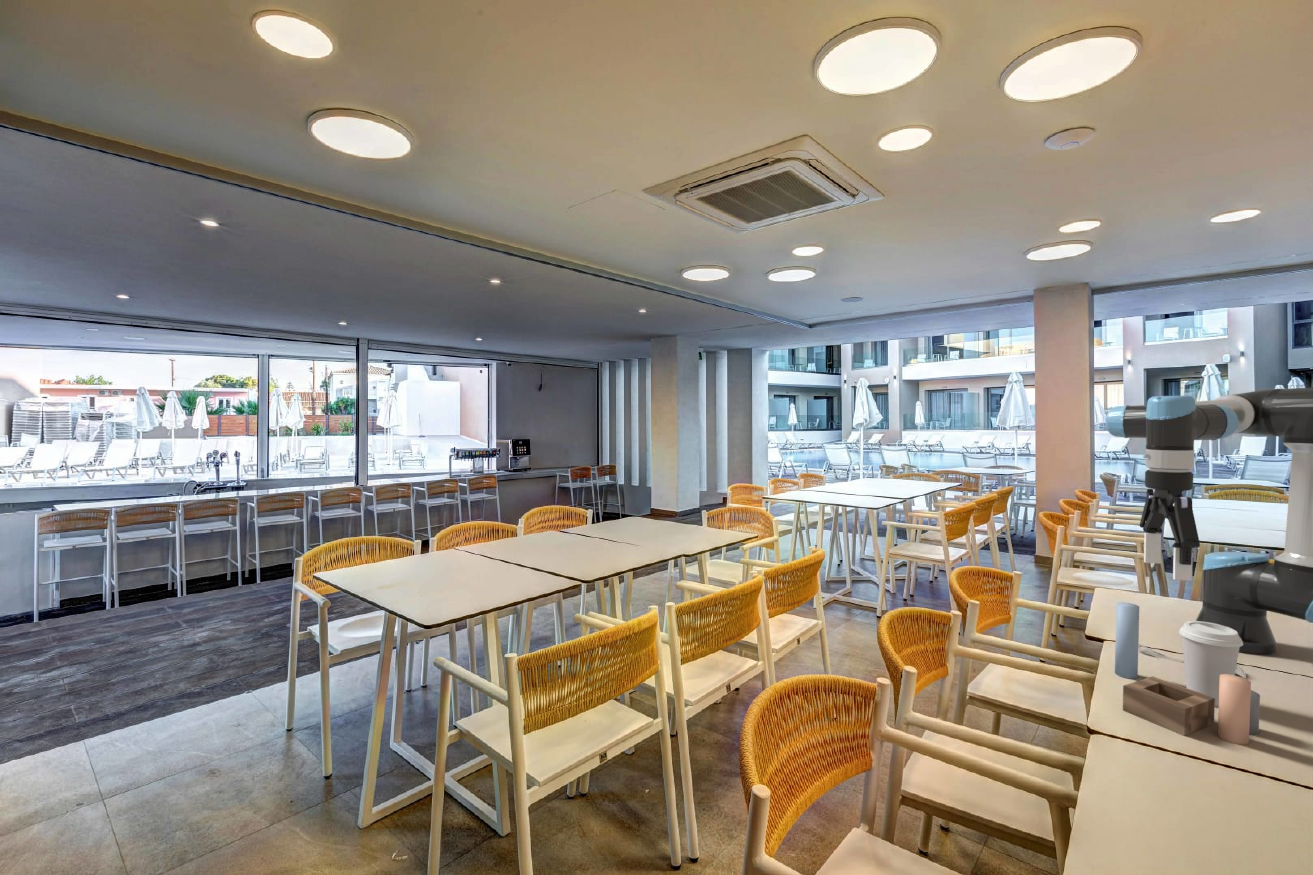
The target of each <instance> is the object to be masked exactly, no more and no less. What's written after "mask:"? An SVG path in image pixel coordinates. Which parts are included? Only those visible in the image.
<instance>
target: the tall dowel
mask: <svg viewBox="0 0 1313 875" xmlns="http://www.w3.org/2000/svg"><path fill="white" fill-rule="evenodd" d="M1115 604H1116V610H1115V643H1114V644H1115V650H1114V651H1115V652H1114V653H1115V654H1114V655H1115V656H1114V674H1115V675H1117V676H1118V677H1121V678H1125V679H1128V680H1136V679H1138V677H1139V676H1138V675H1139V670H1138V669H1139V649H1138V644H1139V634H1140V632H1139V631H1140V605H1137V604H1135V603H1132V602H1131V603H1130V602H1123V601H1122V602H1121V601H1119V602H1116V603H1115Z"/></svg>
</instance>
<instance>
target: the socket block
mask: <svg viewBox="0 0 1313 875" xmlns="http://www.w3.org/2000/svg"><path fill="white" fill-rule="evenodd" d="M1122 687H1123V689H1122V711H1124V712H1126V713H1128V714H1131V715H1133V716H1136V717H1138V718H1140V719H1143V720H1145V721H1148V722H1149V723H1150V722H1151V723H1153V724H1155V725H1156V726H1157V725H1158V726H1160V727H1163V728H1164V729H1167V730H1170V731H1171V732H1174V733H1176V734H1179V735H1181V736H1184V737H1185V736H1187V735H1190V734H1192V732H1193V733H1195V732H1198V731H1200V730H1202V729H1205V728H1207V727H1210V726H1212V725H1214V724H1215V708H1216V707H1215V698H1213V697H1210V696H1207V695H1204V694H1202V693H1199V692H1196V691H1193V690H1190V689H1187V688H1186V687H1183V686H1181V685H1178V684H1176V683H1173V682H1170V681H1167V680H1165V679H1161V678H1158V677H1156V676H1154V675H1153V676H1150V677H1146V678H1143V679H1141V680H1137V681H1134V682H1130V683H1127V684H1124V685H1123V686H1122Z"/></svg>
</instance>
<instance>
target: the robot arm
mask: <svg viewBox="0 0 1313 875" xmlns="http://www.w3.org/2000/svg"><path fill="white" fill-rule="evenodd" d="M1105 428H1106V431H1107V432H1108V434H1110V435H1111V436H1113V437H1115V438H1117V437H1118V438H1125V439H1129V438H1130V439H1131V438H1132V439H1133V438H1134V439H1135V438H1137V439H1145V443H1146V444H1145V453H1143V454H1142V458H1144V459H1145V467H1146V468H1147V470H1145V472H1144V486H1145V487H1146V488H1147V489H1146V497H1145V503H1144V506H1143V511H1142V514H1141V518H1140V521H1139V527H1140V528H1141V529H1142V530H1143V532H1144V541H1143V543H1144V544H1143V548H1144V549H1143V562H1144V563H1145V564H1158V565H1159V564H1162V563H1161V561H1162V560H1161V559H1162V534H1163V533H1164V532H1163V528H1162V526H1163V525H1164V522H1165V520H1166V519H1167V521H1168V523H1169V526H1170V529H1171V534H1172V535H1173V538H1174V543H1173V544H1172V545H1171V547H1172V548H1173V556H1172V557H1173V562H1172V563H1173V564H1172V565H1173V566H1172V579H1173V580H1174V581H1189V582H1191V581H1193V558H1194V557H1193V553H1194V549H1195V548H1200V546H1201V544H1200V538H1199V533H1198V529H1197V524H1196V519H1195V515H1194V510H1193V498H1192V497H1188V496H1187V497H1185V496H1184V494H1183V493H1184V491H1191V490H1193V488H1194V473H1193V472H1192V471H1191V470H1193V469H1195V449H1194V448H1195V441H1216V440H1221V439H1225V438H1228V437H1230V436H1232V435H1233V434H1246V435H1247V434H1248V435H1257V436H1266V437H1280V438H1281V437H1283V442H1282V443H1283V445H1284V446H1285V447H1286V448H1288V449H1289V450H1290V451H1291V464H1290V465H1291V466H1290V477H1289V489H1288V490H1289V491H1288V503H1287V514H1286V528H1285V530H1286V531H1285V537H1284V538H1285V540H1284V541H1285V542H1284V550H1283V552H1282V553H1281V554H1278V555H1277V556H1274V559H1273V560H1274V562H1270V561H1271V560H1270V557H1269V556H1268V555H1267V554H1263V553H1258V552H1257V553H1256V552H1243V551H1217V552H1215V551H1213V552H1210V553H1208V554H1206V555H1205V556H1204V558H1203V565H1202V566H1203V567H1202V569H1201V570H1202V607H1201V610H1200V611H1199V613H1198V615H1197V617H1196V618H1195V621H1202V622H1209V623H1214V624H1219V625H1223V626H1226V627H1229V628H1232V629H1234V630H1235V631H1237V632H1238V635H1239V637H1240V638H1241V640H1242V641H1243V646H1241V647H1240V648H1239V653H1246V654H1257V655H1267V654H1268V655H1269V654H1273V653H1275V652H1276V650H1277V641H1276V638H1275V636H1274V632H1273V631H1272V629H1271V626H1270V623H1269V620H1268V619H1267V618H1268V616H1267V613H1268V612H1270V613H1275V614H1280V615H1284V616H1287V617H1292V618H1295V619H1299V620H1302V621H1306V622H1308V623H1312V624H1313V387H1297V388H1293V387H1292V388H1268V389H1261V390H1255V391H1248V392H1242V393H1236V394H1227V395H1223V396H1222V395H1221V396H1219V397H1217V398H1215V399H1213V400H1210V399H1209V400H1198V401H1196V399H1195V397H1193V396H1192V395H1161V396H1156V395H1155V396H1152V397H1150V398H1148V400H1147V402H1146V404H1144V405H1129V404H1127V405H1126V404H1125V405H1118V406H1114V407H1112V408H1110V409H1109V411H1107V413H1106V416H1105Z"/></svg>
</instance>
